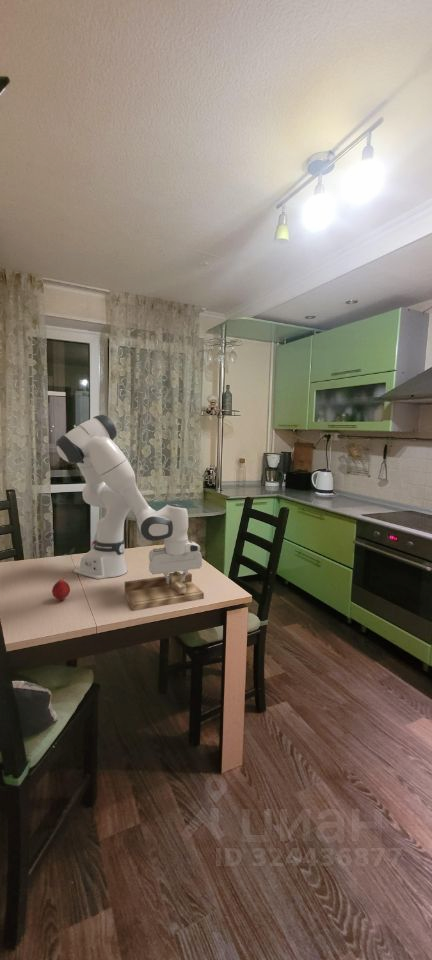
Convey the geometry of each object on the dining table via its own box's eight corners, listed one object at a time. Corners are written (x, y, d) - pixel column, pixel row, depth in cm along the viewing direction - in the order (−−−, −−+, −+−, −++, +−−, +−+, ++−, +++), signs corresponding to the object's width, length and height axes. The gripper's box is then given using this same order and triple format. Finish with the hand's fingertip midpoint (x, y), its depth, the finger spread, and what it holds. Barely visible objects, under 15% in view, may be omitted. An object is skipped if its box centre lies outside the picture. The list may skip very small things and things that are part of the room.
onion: (59, 605, 131) (58, 583, 131) (48, 601, 134) (48, 579, 134) (73, 599, 136) (73, 577, 136) (63, 595, 139) (62, 574, 139)
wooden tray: (133, 610, 129) (133, 596, 128) (124, 594, 142) (124, 581, 141) (203, 598, 140) (203, 585, 140) (189, 584, 153) (189, 572, 152)
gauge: (177, 594, 136) (177, 579, 136) (168, 584, 145) (169, 571, 145) (188, 592, 138) (188, 578, 138) (178, 583, 147) (178, 569, 147)
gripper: (151, 551, 136) (151, 589, 137) (204, 546, 144) (203, 581, 146) (146, 547, 141) (146, 582, 143) (197, 541, 150) (197, 575, 151)
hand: (175, 582), depth 144 cm, fingers closed on gauge, 4 cm apart
